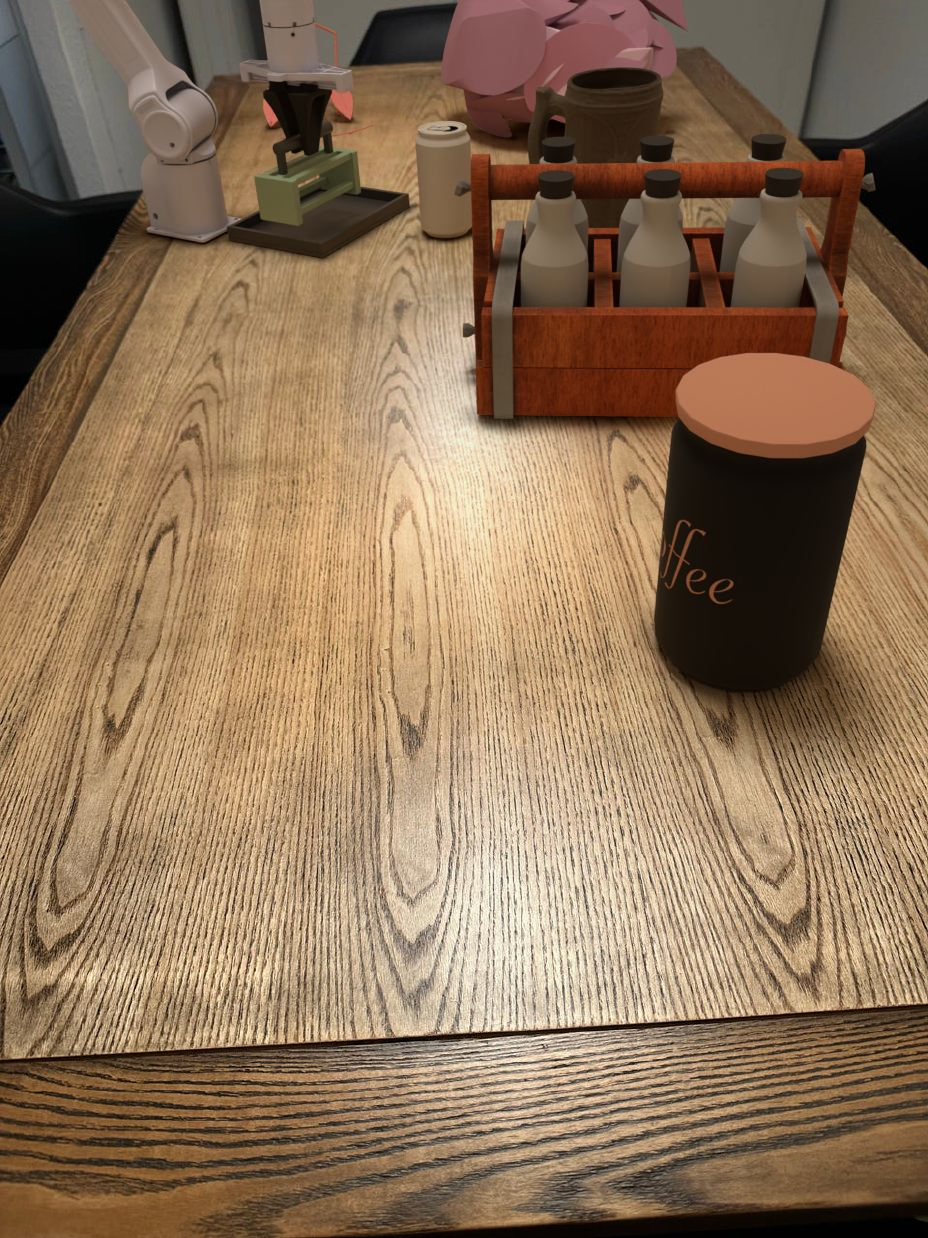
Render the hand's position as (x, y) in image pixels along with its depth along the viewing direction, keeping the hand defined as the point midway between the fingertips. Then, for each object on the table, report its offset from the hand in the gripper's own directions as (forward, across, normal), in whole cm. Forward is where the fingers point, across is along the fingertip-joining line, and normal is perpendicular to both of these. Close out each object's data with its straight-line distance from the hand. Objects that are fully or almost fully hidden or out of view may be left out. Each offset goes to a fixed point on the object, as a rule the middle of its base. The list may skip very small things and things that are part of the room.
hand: (305, 152), depth 127 cm
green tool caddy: (+6, 0, 0) cm, 6 cm away
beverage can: (+10, +15, +7) cm, 19 cm away
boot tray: (+9, -1, +3) cm, 10 cm away
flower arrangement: (+10, +9, +52) cm, 53 cm away
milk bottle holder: (+10, +51, -17) cm, 55 cm away
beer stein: (+10, +35, +4) cm, 36 cm away
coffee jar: (+10, +71, -51) cm, 88 cm away
